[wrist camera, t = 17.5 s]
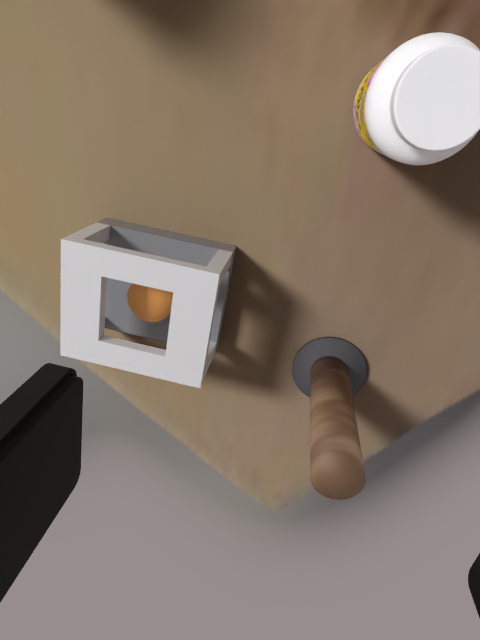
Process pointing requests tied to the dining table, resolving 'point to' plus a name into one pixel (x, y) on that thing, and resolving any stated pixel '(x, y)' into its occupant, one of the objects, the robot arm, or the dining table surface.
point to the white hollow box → (152, 271)
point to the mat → (329, 348)
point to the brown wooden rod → (334, 431)
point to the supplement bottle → (421, 100)
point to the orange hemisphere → (149, 302)
